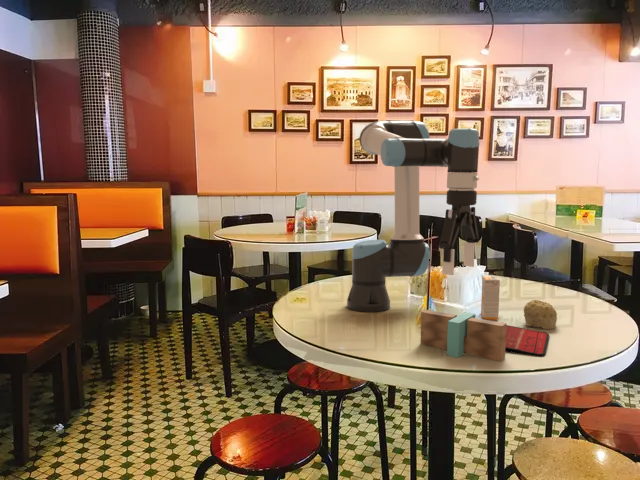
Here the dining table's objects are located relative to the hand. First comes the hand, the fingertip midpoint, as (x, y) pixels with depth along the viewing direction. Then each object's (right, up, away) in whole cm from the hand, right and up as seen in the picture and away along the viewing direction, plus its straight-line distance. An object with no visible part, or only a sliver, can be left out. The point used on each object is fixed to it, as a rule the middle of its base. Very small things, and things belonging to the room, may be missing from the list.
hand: (458, 270), depth 136 cm
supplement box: (+19, -17, +32) cm, 41 cm away
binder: (+18, -21, +7) cm, 29 cm away
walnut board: (0, -21, 0) cm, 21 cm away
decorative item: (+31, -19, +22) cm, 43 cm away
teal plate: (0, -21, 0) cm, 21 cm away
